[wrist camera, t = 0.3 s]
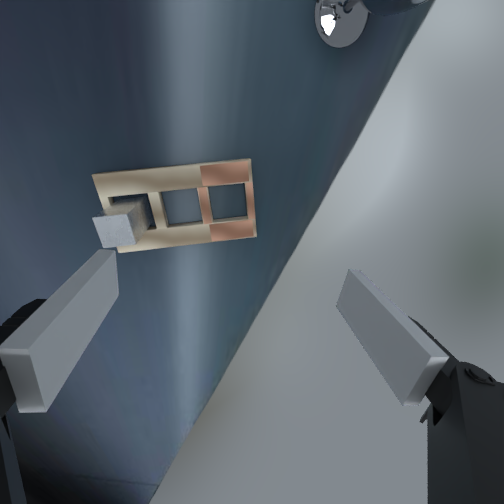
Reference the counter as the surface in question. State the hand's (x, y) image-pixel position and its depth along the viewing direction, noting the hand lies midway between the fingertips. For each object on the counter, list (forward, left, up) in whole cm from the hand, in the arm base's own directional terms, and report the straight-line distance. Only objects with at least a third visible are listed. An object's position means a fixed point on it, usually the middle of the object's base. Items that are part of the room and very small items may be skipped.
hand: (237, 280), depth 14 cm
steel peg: (+2, -14, -27) cm, 31 cm away
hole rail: (+2, -7, -27) cm, 28 cm away
